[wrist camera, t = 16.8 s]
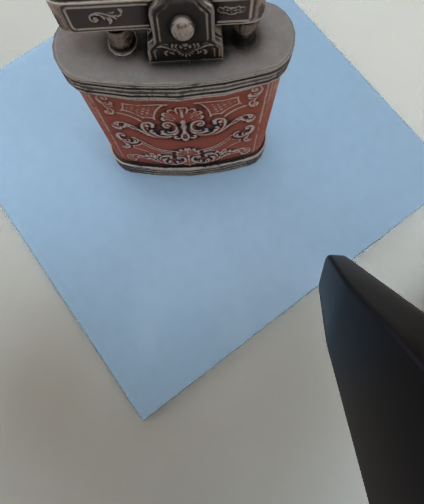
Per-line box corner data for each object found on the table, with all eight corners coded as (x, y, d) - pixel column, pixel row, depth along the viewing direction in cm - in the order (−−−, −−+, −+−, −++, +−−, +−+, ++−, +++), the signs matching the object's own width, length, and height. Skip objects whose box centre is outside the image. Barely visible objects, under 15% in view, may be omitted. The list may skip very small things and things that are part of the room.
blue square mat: (144, 419, 17) (142, 420, 17) (-60, 111, 20) (-64, 108, 20) (453, 180, 19) (457, 178, 19) (227, -67, 22) (227, -72, 22)
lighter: (261, 113, 19) (310, -96, 10) (267, 172, 19) (324, 12, 9) (113, 121, 19) (11, -80, 10) (114, 180, 19) (4, 29, 9)
